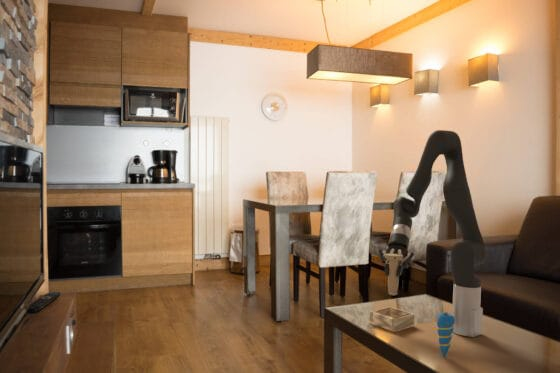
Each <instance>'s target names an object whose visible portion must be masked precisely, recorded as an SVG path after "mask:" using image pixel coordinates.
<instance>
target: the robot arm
mask: <svg viewBox="0 0 560 373" xmlns="http://www.w3.org/2000/svg"><path fill="white" fill-rule="evenodd" d="M441 155H443V156H444V159H445V164H446V174H445V177H444V181H443V185H442V186H443V187H442V193H443V198H444V202H445V206H446V209H447V210H448V212H449V214H450V216H451V217H452V218H453V220H454V221H455V222H456V224H457V226H458V228H459V230H460V233H461V238H462V240H459V241H456V242H455V243H454V244H453V246H452V249H451V252H450V254H451V255H450V262H451V263H450V268H451V269H450V270H451V271H450V272H451V277H452V279H453V287H452V288H453V290H452V314H451V315H452V316H453V317H454V319H455V322H454V325H453V327H454V329H453V332H452V333H454V334H456V335H459V336H462V337H463V336H464V337H471V338H475V337H478V336H480V335H481V336H482V334H483V313H484V308H483V307H481V302H482V301H481V299H482V298H481V296H482V295H481V294H482V279H481V277H479V276H477V275H476V273H475V267H476V266H481V265H483V264H484V263H485V262H486V259H487V254H488V253H487V248H486V245H485V241H484V238H483V235H482V233H481V230H480V227H479V224H478V220H477V219H478V218H477V215H476V212H475V209H474V208H475V207H474V205H473V199H472V194H471V190H470V186H469V183H468V177H467V174H466V168H465V161H464V156H463V147H462V141H461V138H460V136H459V134H458V133H457V132H455V131H454V130H445V129H444V130H443V129H438V130H434V131H433V132H431V133H430V135H429V136H428V138H427V141H426V143H425V146H424V148H423V151H422V154H421V157H420V160H419V163H418V165H417V168H416V171H415V172H414V174H413V176H412V177H411V180H410V182H409V184H408V186H407V187H406V192H405V193H406V194H407V195H408V196H409V197H410V198H411V199H410V198H408V197H406V196H402V195H401V196H398V197H396V198H395V200H394V201H393V203H392V204H393V205H392V206H393V207H392V208H393V209H392V210H393V216H394V221H393V225H392V229H391V231H390V236H389V240H388V245H387V247H386V248H385V249H384V250H383V249H379V250H378V253H379V257H380V261H381V262H380V263H381V266H383V267H384V269H383V272H384V275H385V276H387V277H388V273H389V260H388V259H386V260H385V254H402V255H403V259H402V260H400V261H399V263H398V268H397V273H396V275H397V277H399V278H400V276H402V272H403V269H408V268H409V267H410V265H411V264H412V263H413V261H414V260H415V254H414V252H409V245H410V241H411V235H412V234H411V232H412V228H413V219H412V218H415V217H417V216H418V215H419V212H420V208H421V203H422V200H423V197H424V195H425V193H426V192H427V190H428V189H429V187H430V184H431V183H432V182H431V181H432V178H433V177H432V176H433V173H432V172H433V166H434V164H435V162H436V160H437V159H438V158H439V156H441ZM412 199H413V200H412ZM406 257H407V258H406ZM405 258H406V259H405ZM404 259H405V261H404ZM403 261H404V262H403Z"/></svg>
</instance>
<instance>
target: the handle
mask: <svg viewBox="0 0 560 373" xmlns="http://www.w3.org/2000/svg"><path fill="white" fill-rule="evenodd" d="M384 259H386V260H387V259H388V260H389V273H388V276H387V288H388V289H387V291H388V292H387V293H388V295H390V296H397V295H398V290H399V283H400V282H399V281H400V276H399V277H397V275H396V273H397V268H398V266H399V261H400V260H402V259H403V255H402V254H387V253H386V254H385V256H384ZM403 260H404V259H403Z"/></svg>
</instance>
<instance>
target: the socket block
mask: <svg viewBox="0 0 560 373" xmlns="http://www.w3.org/2000/svg"><path fill="white" fill-rule="evenodd" d="M369 314H370V315H369V324H370V325H373V326H376V327H378V328H381V329H382V328H383V329H385V330H387V331H391V332H393V333H397V332H400V331H403V330H405V329H409V328H412V327H414V326H415V313H413V312H410V311H409V312H408V311H406V310H402V309H398V308H396V307H392V306H386V307H383V308H380V309H376V310H372V311H369Z"/></svg>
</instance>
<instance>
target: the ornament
mask: <svg viewBox="0 0 560 373" xmlns="http://www.w3.org/2000/svg"><path fill="white" fill-rule="evenodd" d="M454 322H455V319H454V317H453V316H452V314H451V313H449V312H448V310H447V309H445V311H444V312H442V313H440V314H439V315H438V317H437V320H436V326H437V330H436V331H437V333H438V334H437V335H438V343H439V349H440V352H441V355H442V357H444V358H446V356H447V355H448V352H449V351H450V348H451V341H452V337H453V335H452V334H453V333H454V332H453V329H454V327H453V325H454Z"/></svg>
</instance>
